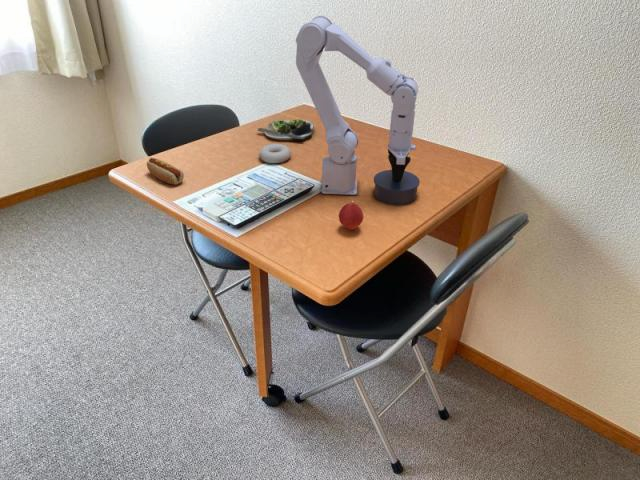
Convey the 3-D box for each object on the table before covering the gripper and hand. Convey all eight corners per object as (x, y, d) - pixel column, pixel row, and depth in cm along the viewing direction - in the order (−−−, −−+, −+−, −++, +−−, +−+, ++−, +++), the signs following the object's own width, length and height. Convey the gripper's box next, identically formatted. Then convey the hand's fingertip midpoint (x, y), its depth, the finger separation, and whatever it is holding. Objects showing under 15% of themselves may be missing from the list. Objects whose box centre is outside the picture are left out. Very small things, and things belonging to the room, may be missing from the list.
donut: (255, 164, 147) (286, 166, 145) (254, 153, 145) (286, 155, 143) (265, 151, 155) (294, 153, 153) (264, 141, 153) (294, 142, 151)
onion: (335, 233, 115) (335, 204, 110) (342, 221, 119) (343, 192, 115) (358, 237, 113) (360, 208, 109) (365, 225, 117) (367, 197, 113)
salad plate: (254, 143, 160) (252, 130, 158) (261, 123, 175) (260, 111, 172) (311, 144, 159) (311, 130, 157) (314, 124, 174) (314, 112, 172)
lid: (373, 193, 124) (374, 177, 121) (373, 172, 134) (374, 157, 131) (421, 195, 123) (423, 179, 120) (417, 174, 133) (419, 158, 131)
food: (144, 174, 141) (141, 159, 138) (160, 168, 144) (157, 153, 141) (172, 189, 133) (169, 173, 130) (188, 182, 137) (186, 166, 134)
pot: (374, 203, 126) (375, 190, 124) (374, 184, 136) (375, 171, 133) (417, 205, 125) (419, 192, 123) (414, 185, 135) (415, 172, 132)
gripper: (420, 140, 114) (413, 191, 121) (415, 119, 126) (410, 166, 133) (390, 140, 114) (385, 190, 122) (388, 118, 126) (384, 165, 134)
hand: (396, 177), depth 128 cm, fingers closed on lid, 2 cm apart
